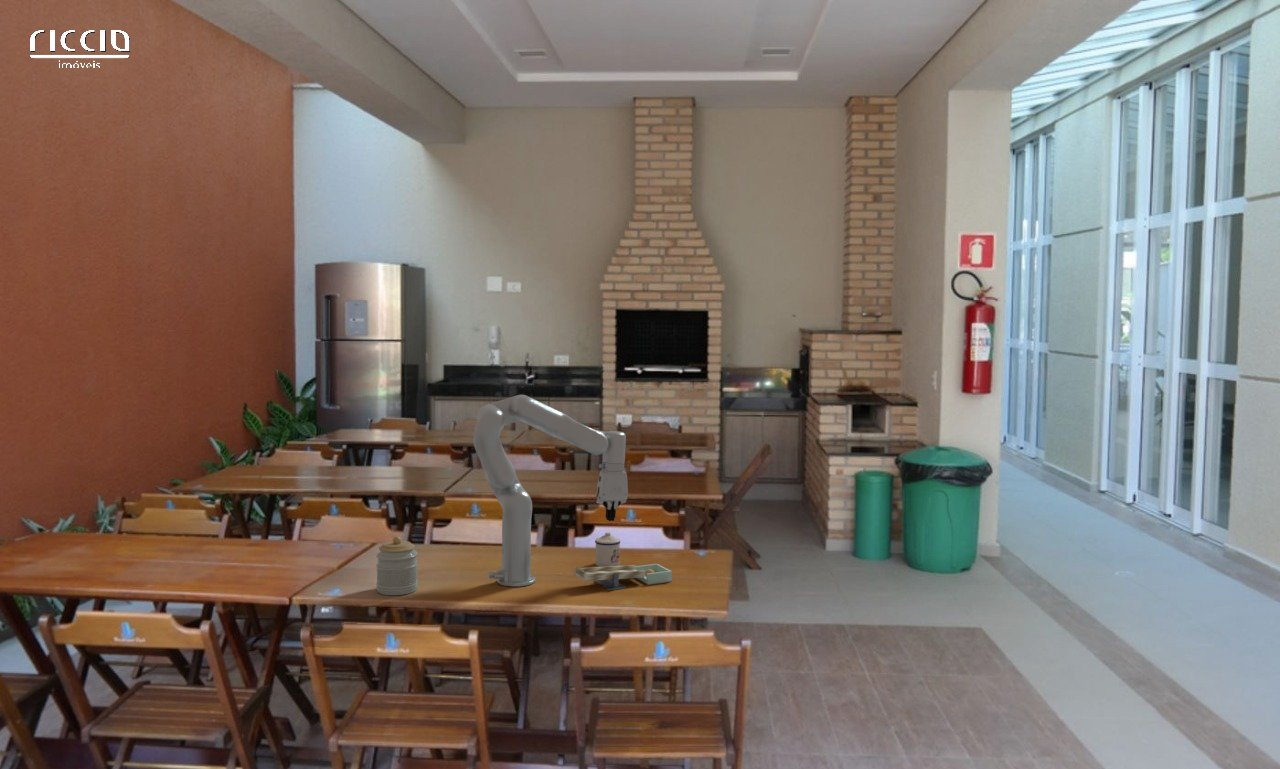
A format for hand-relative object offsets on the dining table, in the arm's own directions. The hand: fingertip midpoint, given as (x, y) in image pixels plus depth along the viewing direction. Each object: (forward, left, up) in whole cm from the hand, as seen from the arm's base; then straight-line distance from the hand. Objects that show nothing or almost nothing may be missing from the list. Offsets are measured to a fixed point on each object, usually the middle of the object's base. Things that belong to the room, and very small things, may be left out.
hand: (610, 520), depth 323 cm
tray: (+11, -11, -19) cm, 24 cm away
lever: (-5, -8, -16) cm, 19 cm away
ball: (+10, -11, -17) cm, 23 cm away
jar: (-70, +12, -19) cm, 74 cm away
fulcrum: (-5, -11, -19) cm, 22 cm away
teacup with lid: (+6, +13, -19) cm, 24 cm away
